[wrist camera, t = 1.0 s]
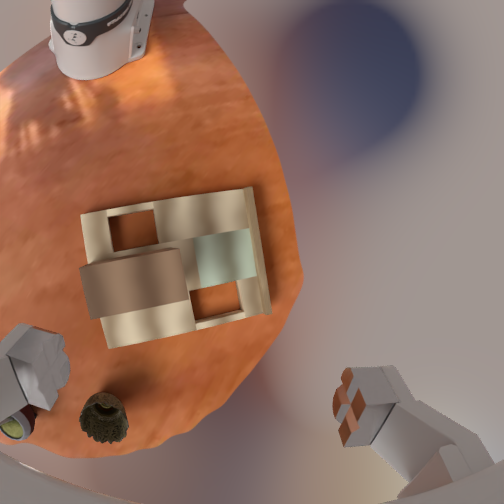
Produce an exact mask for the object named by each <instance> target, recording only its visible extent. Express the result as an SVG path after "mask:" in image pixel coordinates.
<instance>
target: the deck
mask: <svg viewBox="0 0 504 504" xmlns="http://www.w3.org/2000/svg"><path fill="white" fill-rule="evenodd" d="M149 210H153V212H154V219H155V225H156V232H157V238H158V244H155V245H149V246H144V247H138V248H133V249H128V250H123V251H117V252H114V250H113V244H112V238H111V232H110V225H109V218H110V217H115V216H120V215H126V214H131V213H137V212H143V211H149ZM81 223H82V230H83V236H84V243H85V249H86V254H87V260H88V264H89V263H91V262H96V261H101V260H106V259H111V258H117V257H122V256H127V255H132V254H137V253H143V252H148V251H153V250H159V249H164V248H169V247H172V248H179V249H180V253H181V258H182V264H183V269H184V275H185V280H186V285H187V290H188V295H189V291H191V290H195V289H200V288H205V287H209V286H214V285H218V284H223V283H228V282H232V281H236V287H237V293H238V299H239V304H240V310H236V311H232V312H228V313H224V314H220V315H216V316H211V317H207V318H203V319H199V320H195V319H194V314H193V310H192V305H191V300H190V295H189V300H185V301H180V302H176V303H171V304H166V305H161V306H157V307H152V308H147V309H142V310H137V311H132V312H127V313H122V314H117V315H112V316H107V317H102V318H100V319H101V323H102V327H103V330H104V334H105V338H106V341H107V345H108V348H109V349H111V348H116V347H121V346H126V345H131V344H136V343H141V342H146V341H150V340H155V339H160V338H164V337H169V336H173V335H178V334H182V333H186V332H191V331H195V330H199V329H203V328H207V327H211V326H216V325H220V324H224V323H227V322H231V321H235V320H239V319H243V318H247V317H251V316H254V315H258V314H262V313H263V314H265V315H269V314H272V309H271V302H270V296H269V289H268V283H267V276H266V270H265V263H264V257H263V251H262V244H261V238H260V232H259V225H258V219H257V213H256V207H255V200H254V194H253V188H252V187H246V188H244V189H238V190H230V191H222V192H214V193H207V194H199V195H192V196H185V197H179V198H172V199H166V200H159V201H153V202H147V203H141V204H136V205H130V206H124V207H119V208H113V209H108V210H103V211H97V212H92V213H87V214H82V215H81Z"/></svg>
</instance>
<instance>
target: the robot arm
mask: <svg viewBox="0 0 504 504" xmlns="http://www.w3.org/2000/svg"><path fill="white" fill-rule="evenodd" d="M51 2H52V5H51V22H50V28H51V36H52V38H51V40H50V41H49V48H50V50H51V51H52V52H53V53H54V54H55V56H56V60H57V65H58V67H59V69H60V70H61V71H62V72H63V73H64V74H65V75H67V76H69V77H71V78H74V79H78V80H92V79H97V78H101V77H104V76H106V75H109V74H111V73H113V72H114V71H116V70H117V69H119V68H120V67H122V66H123V65H124V64H126V63H128V62H132V61H135V60H138V59H140V58H142V57H143V56H144V55H145V50H146V44H147V39H148V33H149V28H150V23H151V18H152V13H153V9H154V0H51ZM137 47H141V48H137ZM64 347H65V342H64V339H63V336H62V335H60V334H59V333H56V332H52V331H49V330H45V329H42V328H39V327H36V326H31V325H28V324H25V323H19V324H18V325H17V326H16V327H15V328H14V329H13V330H12V331H11V332H10V333H9V334H8V335H7V336H6V337H5V338H4V339H3V340H2V341H1V342H0V422H1V421H3V420H4V419H6V418H7V417H9V416H11V415H12V414H14V413H15V412H17V411H18V410H20V409H22V408H23V407H25V406H26V405H28V404H27V403H29V404H32V405H34V406H37V407H40V408H43V409H46V410H49V411H50V410H51V408H52V406H53V405H54V403H55V401H56V400H57V398H58V396H59V395H58V391H57V390H58V389H60V388H62V387H64V386H65V384H66V383H67V381H68V378H69V374H70V362H69V358H68V356H67V355H66V354H65V353H64V351H63V349H64ZM341 380H342V383H343V384H342V385H341V386H340V387H339V388H337V389H336V392H335V395H334V397H333V413H334V417H335V419H336V420H337V421H338V422H340V423H341V426H340V428H339V430H338V431H339V434H340V437H341V440H342V444H343V447H353V446H354V447H355V446H366V445H371V446H370V447H371V448H372V449H373V450H374V451H375V452H377V453H378V454H379V455H380V456H381V457H382V458H383V459H384V460H385V461H386V462H387V463H388V464H389V465H390V466H391V467H392V468H394V469H395V470H396V471H397V472H398V473H399V474H400V475H401V476H402V477H403V478H404V479H406V480H407V481H408V482H409V484H408V485H407V486H406V487H405V488H404V489H403V490H402V491H401V492H400V493H399V494H398V496H397V497H398V499H397V500H393V501H389V502H385V503H380V504H504V460H502V461H500V462H498V463H496V464H495V463H494V462H493V460H492V458H491V457H490V455H489V453H488V451H487V450H486V448H485V447H484V445H483V444H482V442H481V440H480V439H479V437H478V435H477V434H475V433H473V432H471V431H470V430H468V429H466V428H465V427H463V426H461V425H460V424H458V423H456V422H455V421H453V420H451V419H450V418H448V417H446V416H445V415H443V414H441V413H439V412H438V411H436V410H435V409H433V408H431V407H430V406H428V405H427V404H425V403H423V402H422V401H420V400H419V401H415V399H414V397H413V396H412V394H411V392H410V390H409V389H408V387H407V385H406V384H405V382H404V381H403V379H402V377H401V375H400V374H399V372H398V370H397V369H396V367H394V366H392V365H390V366H378V367H354V368H353V367H352V368H350V367H348V368H346V369H345V370H344V371H343V373H342V376H341ZM0 504H141V503H136V502H132V501H128V500H124V499H120V498H116V497H112V496H109V495H105V494H101V493H98V492H95V491H92V490H89V489H86V488H83V487H80V486H77V485H74V484H71V483H68V482H66V481H63V480H60V479H58V478H56V477H53V476H51V475H48V474H46V473H43V472H41V471H39V470H36V469H34V468H32V467H30V466H28V465H25V464H24V463H22V462H19V461H17V460H15V459H14V458H11V457H9V456H8V455H6V454H4V453H2V452H0Z"/></svg>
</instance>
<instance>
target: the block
mask: <svg viewBox="0 0 504 504" xmlns="http://www.w3.org/2000/svg"><path fill="white" fill-rule="evenodd" d="M79 270H80V275H81V280H82V285H83V289H84V294H85V298H86V302H87V307H88V311H89V315H90V319H91V320H92V319H97V318H102V317H107V316H112V315H117V314H122V313H127V312H132V311H137V310H142V309H147V308H152V307H157V306H161V305H166V304H171V303H176V302H180V301H185V300H189V295H188V290H187V285H186V280H185V275H184V269H183V264H182V258H181V253H180V249H179V248H172V247H169V248H164V249H159V250H153V251H148V252H143V253H137V254H132V255H127V256H122V257H117V258H111V259H106V260H101V261H96V262H91V263H89V264H87V265H85V266H82V267H80V268H79Z"/></svg>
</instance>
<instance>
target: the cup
mask: <svg viewBox="0 0 504 504" xmlns="http://www.w3.org/2000/svg"><path fill="white" fill-rule="evenodd" d="M103 402H104V403H105V404H104V403H103ZM79 422H80V423H81V429H82V431H84V432H87V435H88V437H89V438H90V437H91V436H93V439H94V440H95V441H96V442H99V441H100V442H101V443H104V442H106V441H108V442H109V443H110V444H112V442H113V441H115V442H120V441H121V440H122V439H123V438H124V437H126V435H127V434H126V431H127V429H128V428H129V425H128V420H127V416H126V412H125V409H124V406H123V405H122V403H121V401H120V400H119V399H118V398H117V397H115V396H114V395H112V394H109V393H106V392H100V393H96V394H94V395H92V396H91V397H90V398H89V399H88V400H87V402H86V404H85V405H84V407H83V410H82V412H81V416H80V418H79Z"/></svg>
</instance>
